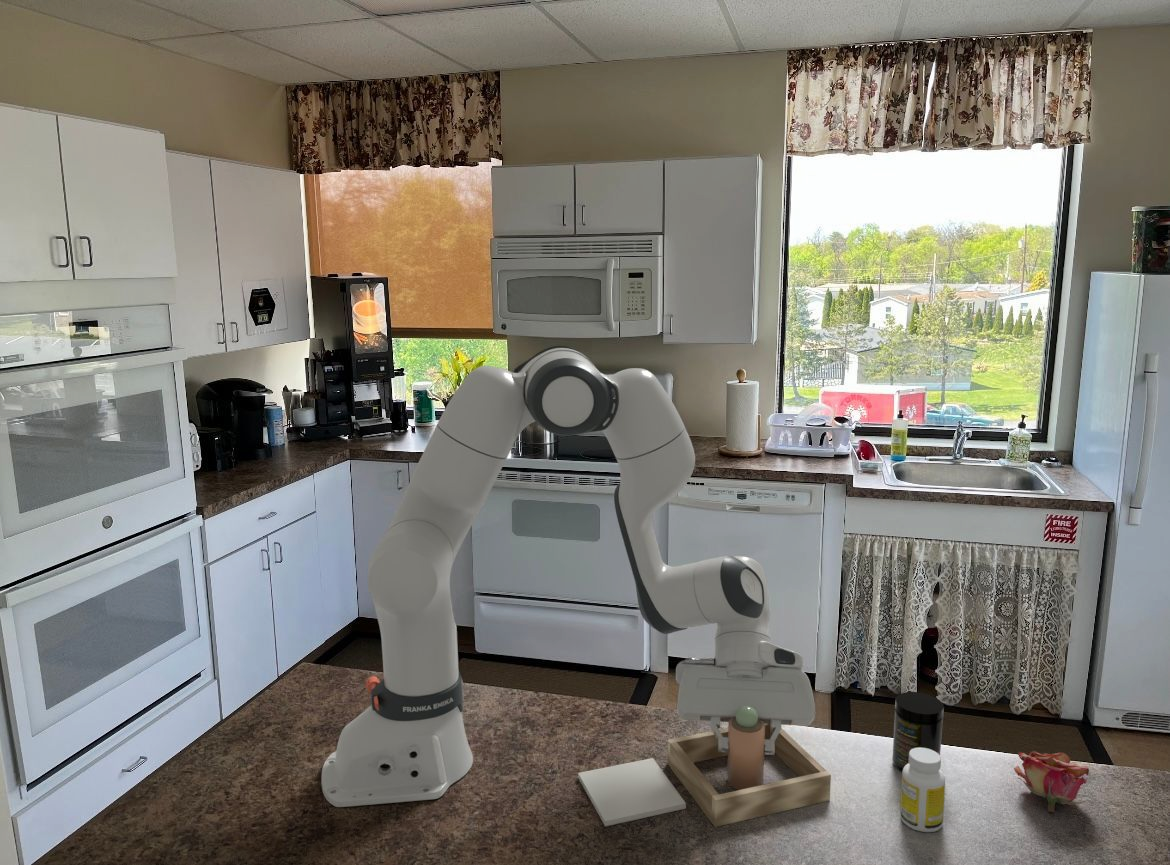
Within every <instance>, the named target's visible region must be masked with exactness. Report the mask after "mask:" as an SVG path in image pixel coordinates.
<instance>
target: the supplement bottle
mask: <svg viewBox="0 0 1170 865" xmlns="http://www.w3.org/2000/svg"><path fill="white" fill-rule="evenodd" d="M941 763H942V758H941V754H940V755H939V754H938V753H937V752H935V751H933V750H931V749H927V748H913V749H911V750H910V752H909V763H908V764H907V765H905V767H904V768H903V772H902V774H901V776H902V777H901V792H900V795H901V796H900V811H899V812H900V813H899V814H900V819H901V821H902V823H904V824H905V825H906V826H907V827H909V828H910V829H912V830H914V831H918V832H923V833H933V832H937V831H939V830H940V829H941V828H942V826H943V822H944V810H945V808H944V807H945V795H946V794H945V793H946V792H945V790H946V777H945V774H944V772H943V771H942V769H941V766H942V764H941Z"/></svg>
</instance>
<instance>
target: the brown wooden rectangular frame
mask: <svg viewBox="0 0 1170 865" xmlns="http://www.w3.org/2000/svg"><path fill="white" fill-rule="evenodd" d="M719 731H720V732H721V734H722V736H723V737H727V738H728V727H726V728H722V729H719ZM773 733H774V731H771V728H770V724H765V739H766V740H770V738H771V736H772V734H773ZM774 743H775V754H776V756H777V757H778V758H780V759H781V760H782V762H784V763H785V764H786V765H787V766H788V767H789V769H791V770H792V771H793V773H794V774H795V775H797V777H793V778H788V779H784V780H779V781H774V782H770V783H765V784H763V785H760V786H756V787H751V788H746V789H742V790H738V789H736V790H734V791H728V792H725V793H718V792H717V790H716V789H715V788H714V787H713V785H712V784H711V783H710V782H709V780H708V779H707V778H706V777H705V776H704V774H703V773H702V771H700V769H699V768H698V767H697V765H695V763H699V762H702V761H708V760H713V759H718V758H722V757H728V752H718V740H717V739H716V737H715V735H714V734H713V732H712V730H711V731H705V732H701V733H697V734H692V735H686V736H681V737H675V738H670V739H667V766H668V767H669V768H670V769H671V771H672V772H673V773H674V775H676V777H677V778H678V780H679V781H680V782H681V784H682V785H683V787H684V788H685V789H686V790H687V792H688V793H689V794H690V796H691V797H692V799H693V800H694V801H695V802H696V804H697V805H698V807H700V809H701V811H702V812H703V813H704V815H705V816H706V817H707V819H708V820H709V821H710V822H711V823H712V825H713V826H714V827H715V828H718V827H722V826H724V825H726V826H727V825H730V824H733V823H738V822H742V821H746V820H751V819H755V818H760V817H764V816H769V815H772V814H777V813H781V812H785V811H789V810H794V809H798V808H803V807H807V806H812V805H816V804H819V803H825V802H828V801H830V799H831V781H832V774H831V773H830V772H829V771H828V770H826V769H825V767H824V766H822V765H821V764H820V763H819V762H818V761H817V760H816V759H815V758H814V757H813V756H812V755H811V754H809V752H808V751H807V750H805V749H804V748H803V747H802V746H801V744H799V743H798V742H797V741H796V740H795V739H794V738H793V737H791V735H789V734H788V733H787V732H786V731H785V730H784V729H783V728H782V727H781V731H780V733H779V735H778V737H777V739H776V740H775V742H774Z"/></svg>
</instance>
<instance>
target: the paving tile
mask: <svg viewBox="0 0 1170 865" xmlns="http://www.w3.org/2000/svg"><path fill="white" fill-rule="evenodd" d="M577 775H578V776H577V778H578V781H579V782H580V784H581V786H582V787H583V789H584V791H585V793H586V795H587V796H588V798H589V800H590V801H591V804H592V805H593V807H594V809H595V811H596V813H597V815H598V816H599V818H600V820H601V822H602V823H603V825H604V827H610V826H613V825H619V824H622V823H627V822H632V821H636V820H640V819H644V818H648V817H653V816H658V815H663V814H667V813H672V812H675V811H680V810H685V809H687V802H686V801H685V800H684V799H683V797H682V796H681V795H680V793H679V792H678V790H677V789H676V788H675V786H674V785H673V783H672V782H671V781H670V780H669V778H668V776H667V775H666V774H665V773H664V771H663V770H662V768H661V767H660V765H659V764H658V762H656V760H655V759H654V758H653V757H650V758H646V759H640V760H636V761H631V762H627V763H626V762H625V763H621V764H617V765H611V766H610V765H609V766H606V767H599V768H597V769H596V768H595V769H591V770H587V771H586V770H585V771H582V772H581V771H579V772H578V773H577Z"/></svg>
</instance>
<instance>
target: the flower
mask: <svg viewBox="0 0 1170 865" xmlns="http://www.w3.org/2000/svg"><path fill="white" fill-rule="evenodd" d="M1018 757H1019V759H1020V760H1021V761H1022V764H1021V766H1022V768H1023V769H1024V773H1023V771H1022V770H1021V768H1020V766H1019V765H1016V767H1014V768H1013V770H1014V772H1015V773H1016V775H1017V777H1018V780H1021V781H1022V782H1023V784H1024V785H1025V786H1026V787H1027V789H1028V790H1029V791H1030V792H1031V793H1032V794H1035V795H1037V796H1039V797H1041V798H1043V799H1044V798H1045V799H1047V801H1048V802H1047V803H1048V804H1047V812H1048V813H1050V814H1055V805H1056V803H1058V804H1061V805H1068V806H1069V807H1071V808H1072V806H1074V805H1079V804H1082V803H1085V802H1091V800H1090V799H1088V800H1082V801H1080V802H1079V801H1078V802H1077V801H1075V799H1076V798H1077V795H1078V792H1079V791H1080V789H1081V787H1082V785H1084V784H1086V783H1087V782H1088V781H1087V779H1086V778H1084V777H1082V776H1084V775H1086V776H1088V775H1089V772H1090V769H1089V766H1087V765H1085V766H1082V765H1079V764H1078V763H1077V762H1076V761H1075V762H1074V761H1072V762H1071V758H1070V756H1069V755H1068V754H1066V753H1065V752H1057V753H1046V752H1045V753H1039V752H1037V751H1035V750H1033V751H1030V753H1029V755H1028V754H1026V753H1024V752H1020V751H1018ZM1019 777H1021V778H1019ZM1022 778H1023V780H1022Z"/></svg>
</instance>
